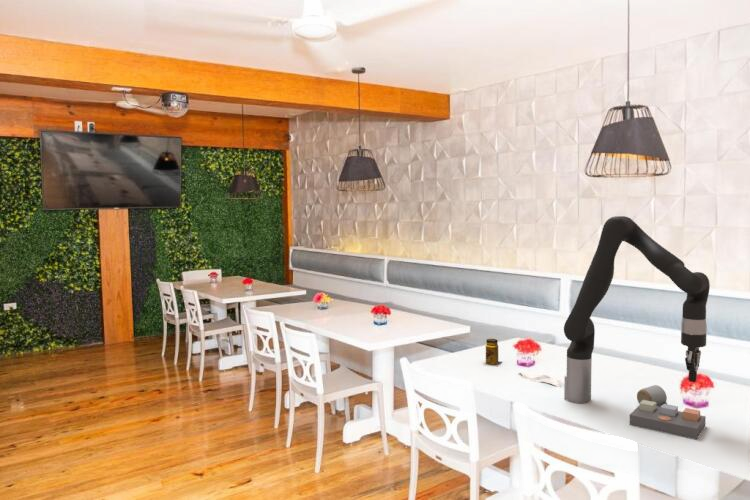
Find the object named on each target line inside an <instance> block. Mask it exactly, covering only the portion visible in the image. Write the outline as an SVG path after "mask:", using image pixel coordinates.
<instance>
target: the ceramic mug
mask: <svg viewBox="0 0 750 500" xmlns="http://www.w3.org/2000/svg"><path fill="white" fill-rule="evenodd" d="M636 399H637V403H638V404H639V405H640V402H641V401H642V400H647V401H652V402H656V407H661V406H662V405H663V404H668V403H667V401H668V400H667V399H668V398H667V392H666V391H665V390H664V388H662V387H661V386H660V385H657V384H654V385H651V386H648V387H644V388H641V389H639V390H638V391H637V393H636Z"/></svg>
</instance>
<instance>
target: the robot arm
mask: <svg viewBox="0 0 750 500" xmlns="http://www.w3.org/2000/svg"><path fill="white" fill-rule="evenodd" d="M602 226H603V227H602V229H601V234H600V237H599V240H598V244H597V248H596V250H595V253H594V256H593V257H592V260H591V262H590V264H589V267H588V269H587V271H586V275H585V276H584V279H583V281H582V285H581V287H580V290H579V293H578V295H577V298H576V301H575V303H574V305H573V308H572V309H571V311H570V313H569V314H568V317H567V319H566V321H565V323H564V326H563V333H564V335H565V337H566V338H567V340H568V341H571V342H570V344H569V346H568V347H567V349H566V374H565V375H564V384H565V386H563V387H564V390H563V391H564V393H563V394H564V396H563V397H564V400H567V401H569V402H570V403H576V404H587V403H590V402H591V400H592V362H593V361H592V360H593V359H592V355H593V351H594V349H595V334H596V333H595V332H596V331H595V330H596V329H595V323H594V321H593V320H592V318H591V317H592V315H593V312H594V311H595V310H596V308H597V307H598V305H599V304H601V301H602V300H603V299H604V298H605V296H606V294H607V293H608V291H609V289H610V286H611V283H612V281H613V278H614V275H615V274H614V273H615V259H616V255H617V253H618V250H619V248H620V246H621V244H622V242H624V243H627V244H629V245H630V246H633V248H635V249H637V251H639V252H640V253H641V254H642V255H643V256H644V257H645V258H646V260H647V261H648V262H649V263H650V264H651V265H652V266H653V267H654V268H656V270H658V271H660V272H661V273H663V274H664V275H666V276H667V277H668V278H669V279H670V280H671V282H672V283H673V284H674V285H676V286H677V287H678V289H680V290H681V291H682V292H684V293H686V299H685V300H684V302H683V304H682V315H681V316H682V317H681V318H682V319H681V327H680V329H681V331H680V343H681V345H683V346H685V347H687V350H685V357H684V361H685V362H684V363H685V366H686V370H687V371H688V381H689V382H691V383H697V381H698V370H699V367H700V363H701V362H700V361H701V355H702V351H701V350H700V348H704V347H706V346H707V330H708V329H707V303H708V299H709V294H710V289H711V288H710V286H711V285H710V279H709V277H708V276H707V274H705V273H703V272H700V271H695V272H692V270H690V269H688V268H687V267H686V266H685V262H683V260H682V259H680V258H679V257H678V256H676V255H674V253H672V252H670V251H669V250H667V248H665V247H664V246H662V245H661V244H659V243H658V242H656V241H655V240H654V239H653V238H652V237H651V236H649V235H648V233H646V232H645V231H644V230H643V229H642V228H641V227H640V226H639V225H638V224H637V223H636V222H635V221H634V220H633V219H632V218H631V217H628V216H625V215H622V216H612V217H609V218H608V219H607V220H605V222H604V224H603V225H602Z"/></svg>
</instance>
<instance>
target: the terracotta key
mask: <svg viewBox="0 0 750 500" xmlns="http://www.w3.org/2000/svg"><path fill="white" fill-rule="evenodd" d="M682 412H683V419H687V420H692V421H697V422H698V421H699V420H700V415H701V410H699V409H694V408H689V407H685V408H684V410H683V411H682Z"/></svg>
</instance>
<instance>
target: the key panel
mask: <svg viewBox="0 0 750 500" xmlns="http://www.w3.org/2000/svg"><path fill="white" fill-rule="evenodd" d="M629 426H632V427H633V426H634V427H638V428H642V429H648V430H652V431H657V432H660V433H665V434H670V435H675V436H680V437H684V438H688V437H689V438H688V439H692V438H694V440H697V439H698V438H699V437H700V435H701V434H702V432H703V431H704V429H705V428H704V427H706V415H701V414H700V420H699V421H698V422H697V421H692V420H687V419H683V411H680V410H678V415H677V416H676V417H672V416H667V415H662V414H661V406H657V407H656V411H655V412H654V413H652V412H647V411H642V410H639V405H638V406H637V407H636V408H635V409H634V410H633V411H632V412H631V413H629ZM702 430H703V431H702ZM700 433H701V434H700ZM698 436H699V437H698Z"/></svg>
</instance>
